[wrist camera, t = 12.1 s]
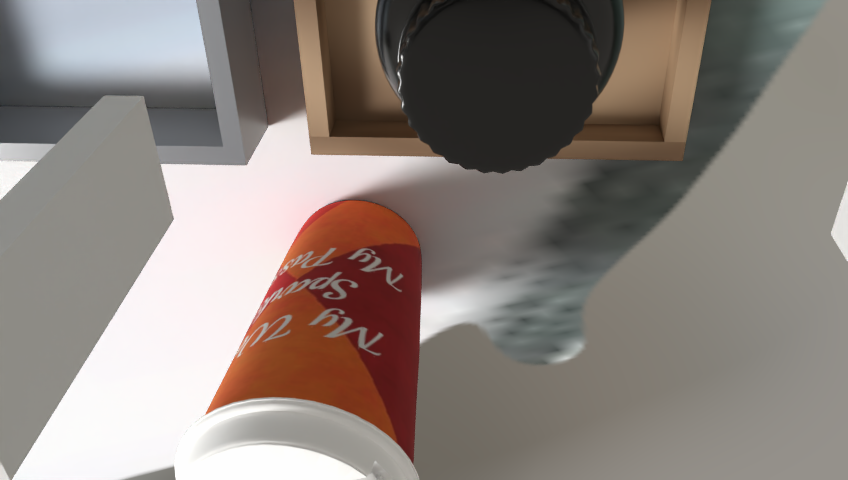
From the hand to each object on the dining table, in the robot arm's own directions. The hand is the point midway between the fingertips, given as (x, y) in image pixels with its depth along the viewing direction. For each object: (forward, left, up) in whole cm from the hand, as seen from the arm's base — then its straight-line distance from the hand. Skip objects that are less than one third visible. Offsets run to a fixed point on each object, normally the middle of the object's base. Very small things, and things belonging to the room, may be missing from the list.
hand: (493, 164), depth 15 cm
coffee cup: (+14, -6, -17) cm, 23 cm away
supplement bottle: (0, 0, -16) cm, 16 cm away
